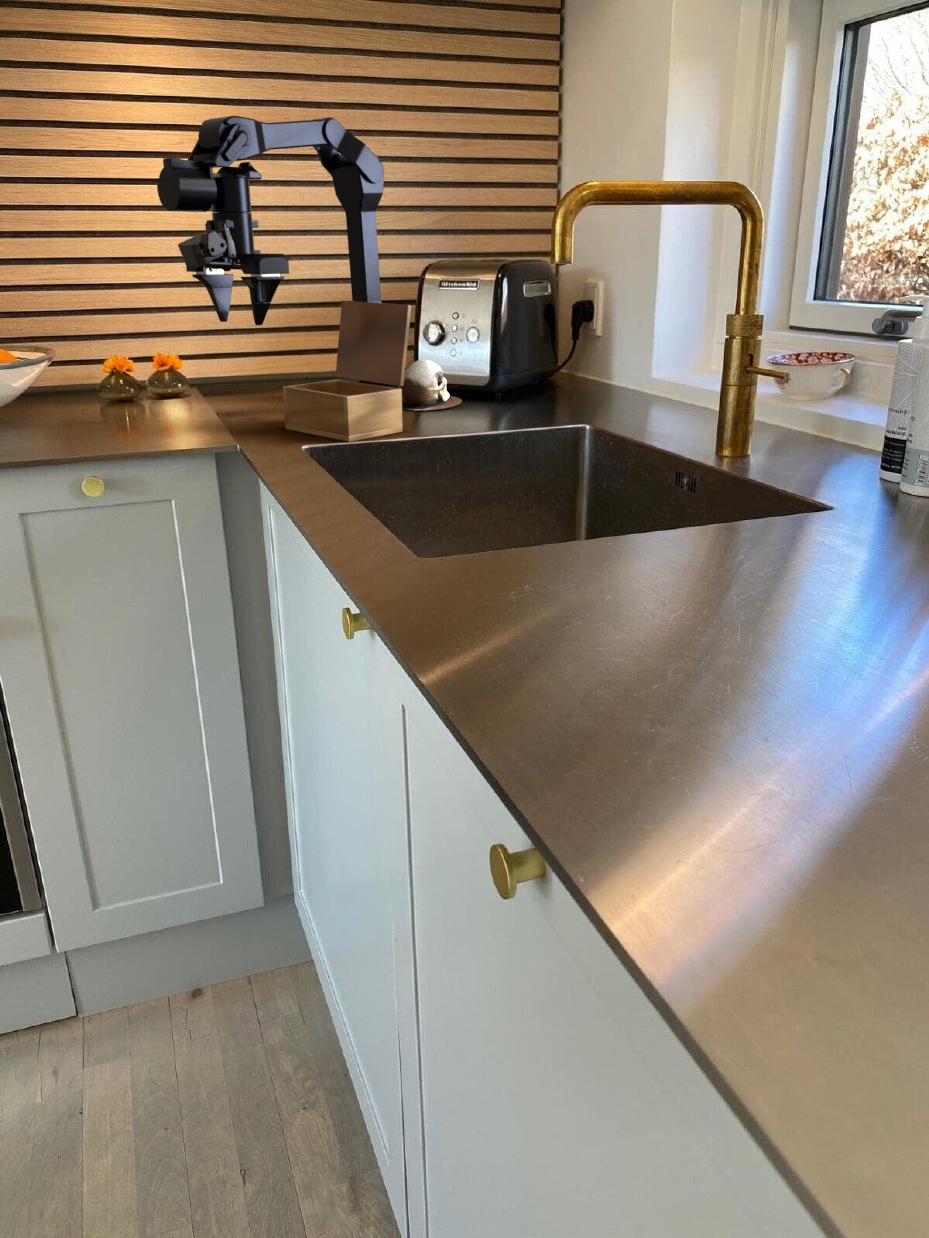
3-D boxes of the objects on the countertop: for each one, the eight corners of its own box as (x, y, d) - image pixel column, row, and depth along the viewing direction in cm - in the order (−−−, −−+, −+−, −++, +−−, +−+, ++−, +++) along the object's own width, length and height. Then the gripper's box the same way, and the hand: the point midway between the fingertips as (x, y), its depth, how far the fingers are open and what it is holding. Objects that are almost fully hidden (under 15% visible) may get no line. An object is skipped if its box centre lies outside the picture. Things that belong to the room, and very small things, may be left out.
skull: (419, 390, 171) (449, 350, 164) (451, 434, 169) (482, 395, 162) (373, 396, 162) (402, 353, 156) (405, 442, 160) (436, 401, 154)
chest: (349, 442, 133) (347, 397, 131) (285, 428, 142) (282, 386, 140) (402, 431, 141) (401, 388, 138) (339, 419, 150) (337, 379, 147)
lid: (408, 305, 135) (411, 305, 136) (341, 300, 144) (345, 301, 145) (400, 386, 138) (403, 386, 138) (335, 376, 147) (338, 377, 148)
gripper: (149, 212, 139) (161, 323, 145) (221, 210, 127) (232, 330, 133) (213, 214, 146) (223, 319, 152) (287, 212, 135) (294, 326, 141)
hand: (240, 323), depth 144 cm, fingers open, 9 cm apart
